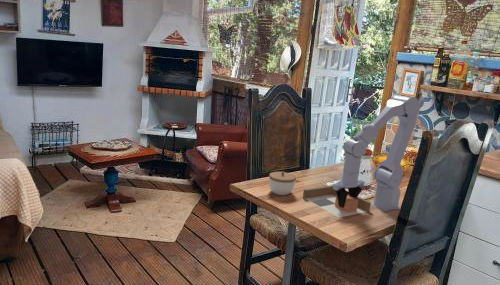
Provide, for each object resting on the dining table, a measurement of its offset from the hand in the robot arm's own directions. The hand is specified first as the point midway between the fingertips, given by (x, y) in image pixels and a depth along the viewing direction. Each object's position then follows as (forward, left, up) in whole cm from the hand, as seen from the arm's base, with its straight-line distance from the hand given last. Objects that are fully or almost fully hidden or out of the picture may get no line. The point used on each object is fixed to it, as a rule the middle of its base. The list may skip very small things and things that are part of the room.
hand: (345, 205), depth 142 cm
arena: (+1, -5, -2) cm, 5 cm away
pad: (+5, -8, -1) cm, 9 cm away
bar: (0, 0, -1) cm, 1 cm away
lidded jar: (+14, -23, -2) cm, 27 cm away
